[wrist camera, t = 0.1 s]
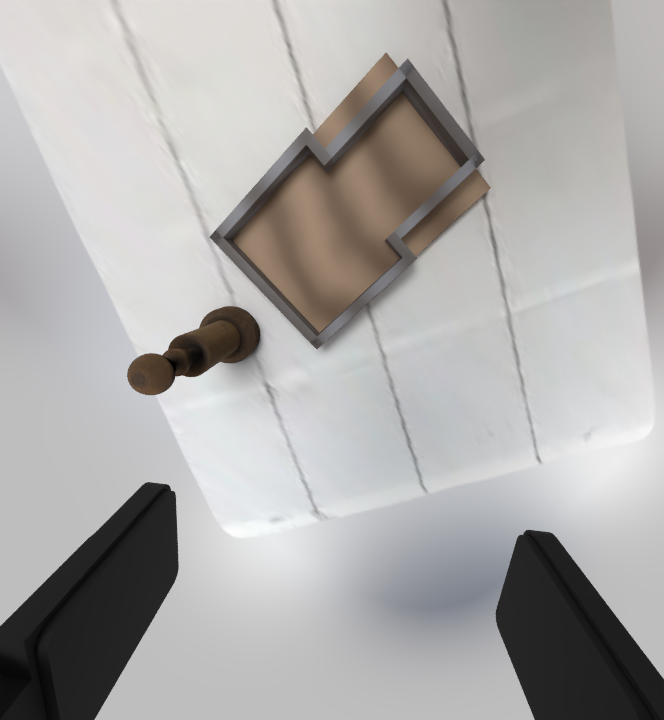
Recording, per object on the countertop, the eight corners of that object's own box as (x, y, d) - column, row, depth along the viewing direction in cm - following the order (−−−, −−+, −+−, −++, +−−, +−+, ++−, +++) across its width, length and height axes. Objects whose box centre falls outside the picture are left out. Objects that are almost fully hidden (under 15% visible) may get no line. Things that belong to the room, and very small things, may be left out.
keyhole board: (385, 59, 32) (388, 33, 28) (486, 190, 34) (501, 181, 31) (222, 240, 37) (209, 237, 34) (320, 342, 39) (316, 349, 36)
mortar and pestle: (212, 361, 41) (108, 427, 24) (201, 309, 39) (80, 339, 22) (264, 355, 40) (196, 419, 23) (254, 302, 39) (173, 328, 21)
